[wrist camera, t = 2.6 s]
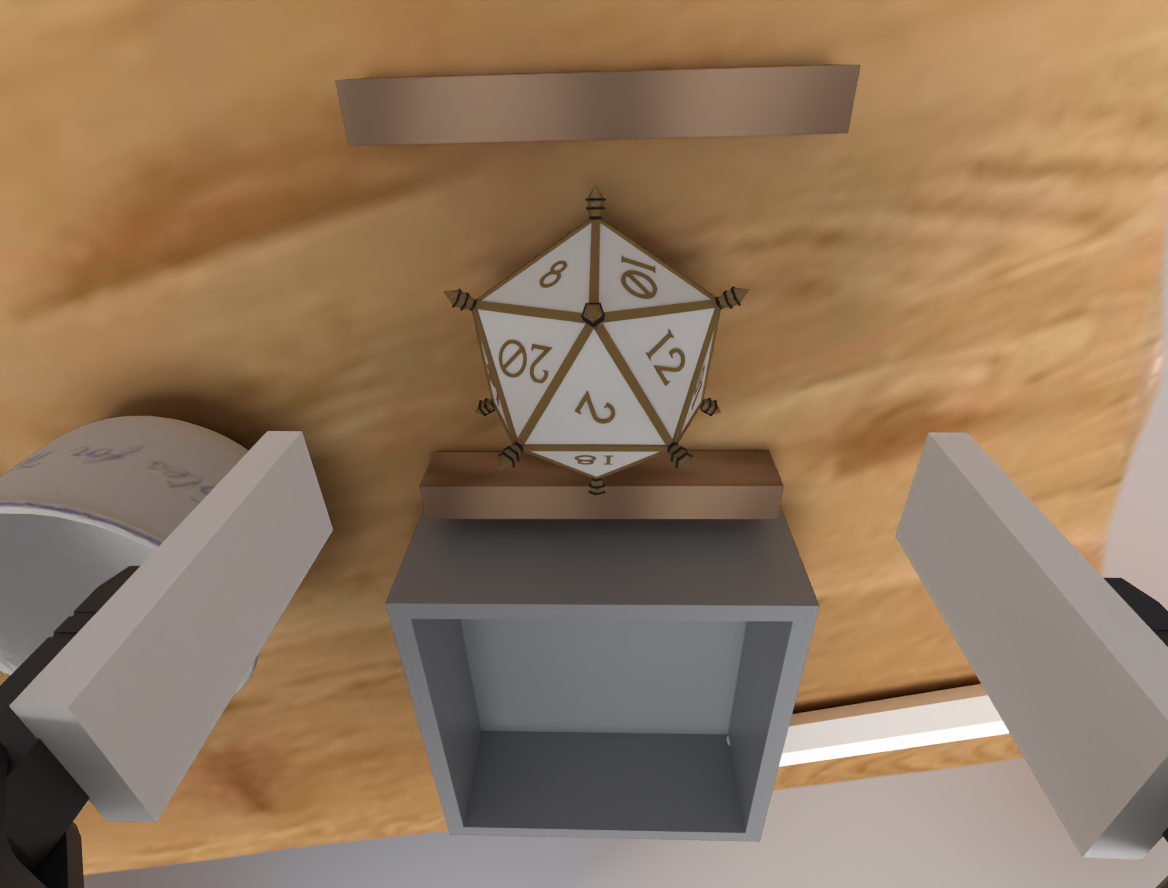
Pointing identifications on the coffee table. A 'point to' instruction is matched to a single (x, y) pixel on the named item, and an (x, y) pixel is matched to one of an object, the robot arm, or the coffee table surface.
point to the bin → (604, 671)
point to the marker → (891, 725)
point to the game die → (596, 352)
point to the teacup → (95, 516)
